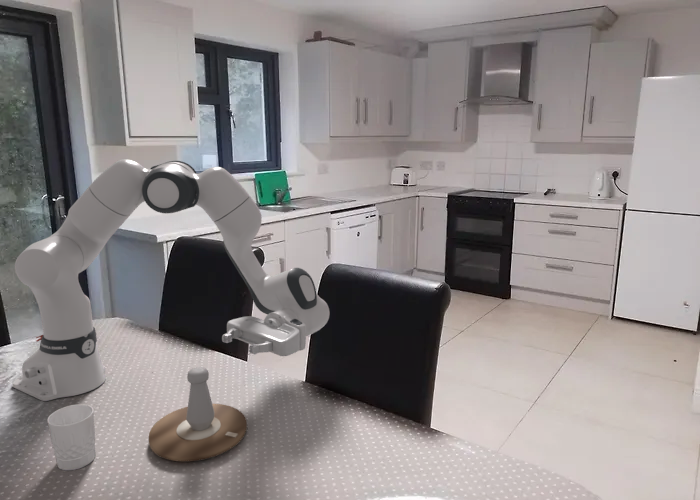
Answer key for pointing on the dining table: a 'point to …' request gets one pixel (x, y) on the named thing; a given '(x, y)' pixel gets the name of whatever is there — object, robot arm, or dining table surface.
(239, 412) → the turntable
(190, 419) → the salt shaker
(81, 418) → the white cup
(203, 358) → the dining table surface
